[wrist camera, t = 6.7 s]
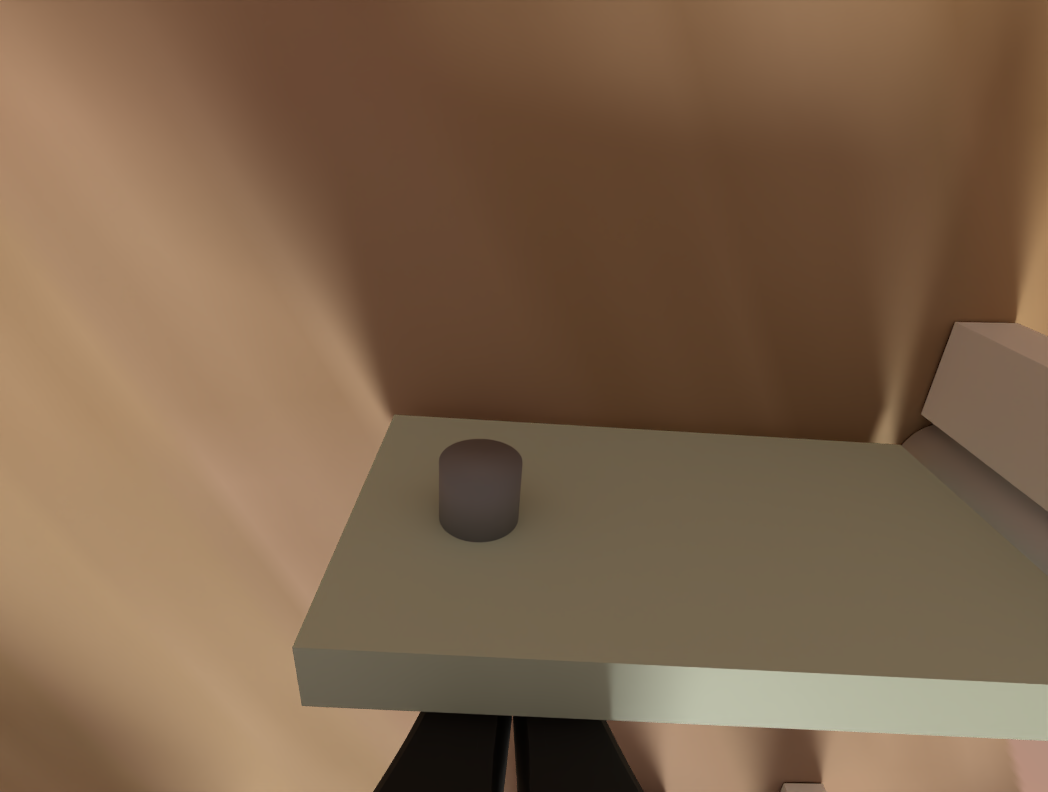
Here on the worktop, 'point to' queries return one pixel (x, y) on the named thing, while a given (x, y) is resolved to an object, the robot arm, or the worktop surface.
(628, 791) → the robot arm
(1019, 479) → the wall frame
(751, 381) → the worktop surface
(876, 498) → the door
